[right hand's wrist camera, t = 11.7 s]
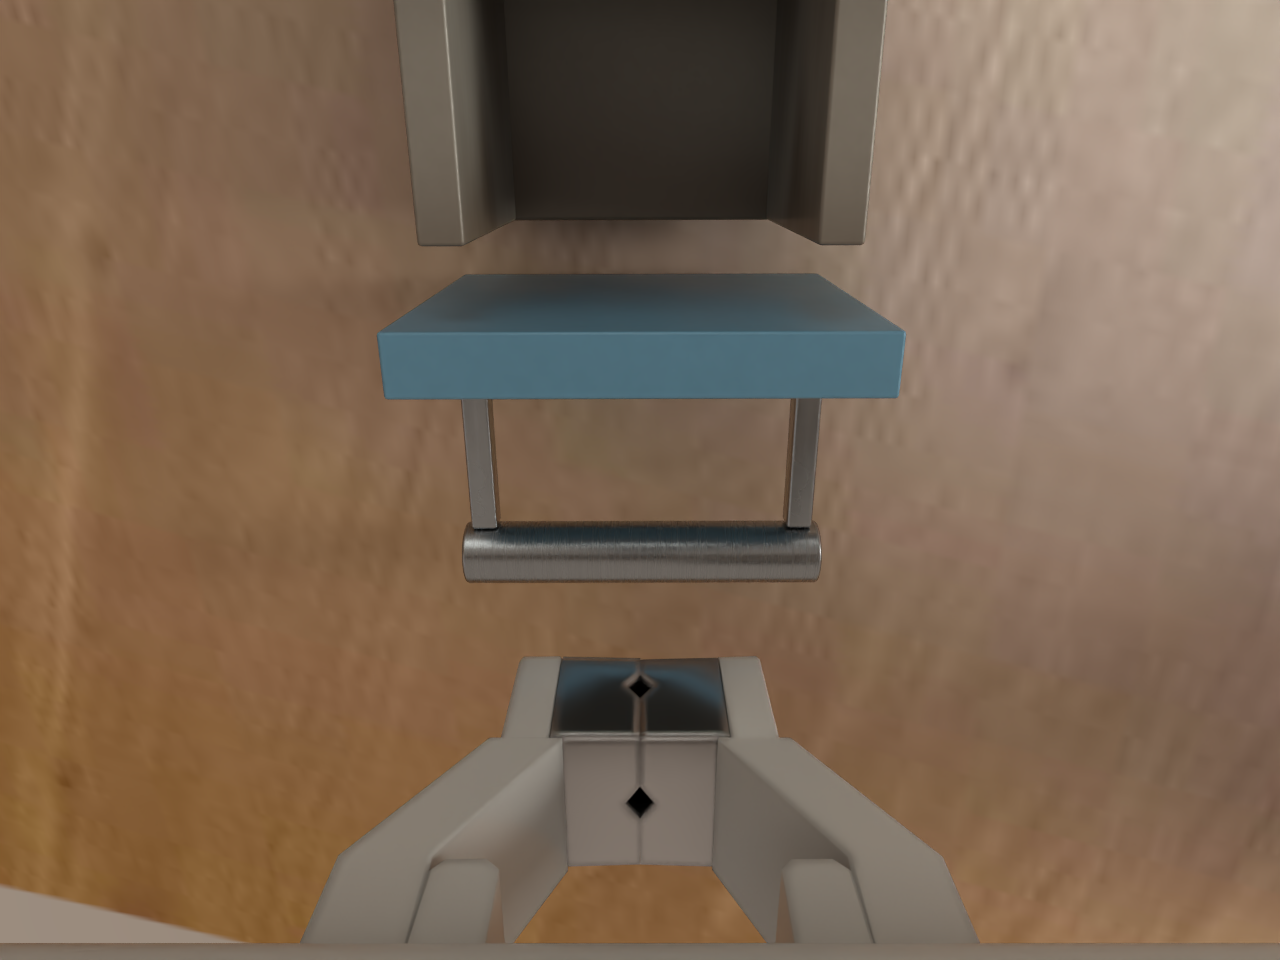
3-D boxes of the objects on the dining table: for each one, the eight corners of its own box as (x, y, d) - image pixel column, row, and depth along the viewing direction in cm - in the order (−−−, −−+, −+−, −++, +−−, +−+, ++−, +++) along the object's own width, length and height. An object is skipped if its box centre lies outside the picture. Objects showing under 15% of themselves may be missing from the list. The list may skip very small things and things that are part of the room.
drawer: (800, 517, 23) (867, 669, 16) (483, 517, 23) (417, 670, 16) (877, -498, 16) (1068, -1028, 9) (401, -496, 16) (208, -1024, 9)
